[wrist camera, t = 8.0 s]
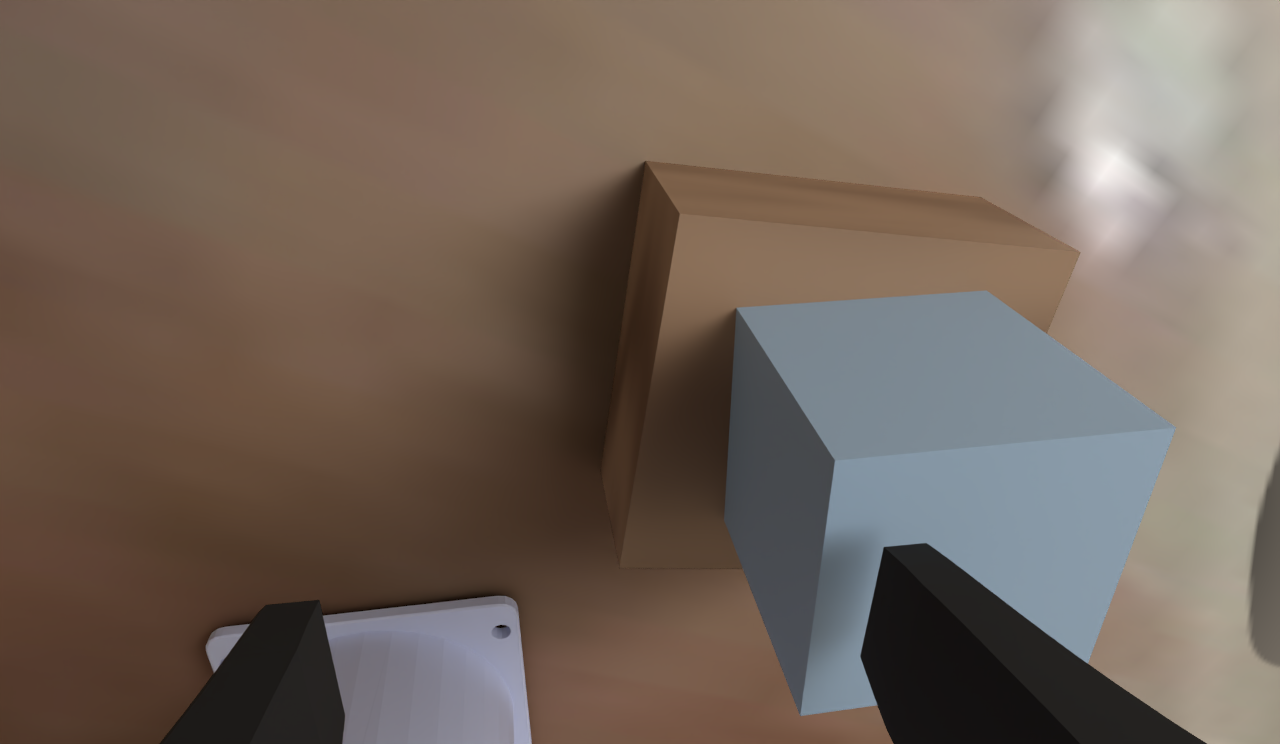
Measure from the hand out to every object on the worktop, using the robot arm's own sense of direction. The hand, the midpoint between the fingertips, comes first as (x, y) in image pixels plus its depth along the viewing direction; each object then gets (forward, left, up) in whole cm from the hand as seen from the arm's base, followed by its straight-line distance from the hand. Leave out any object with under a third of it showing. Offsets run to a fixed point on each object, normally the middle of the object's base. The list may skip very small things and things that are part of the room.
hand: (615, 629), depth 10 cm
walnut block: (-1, -5, -10) cm, 11 cm away
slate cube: (-1, -6, -6) cm, 8 cm away
